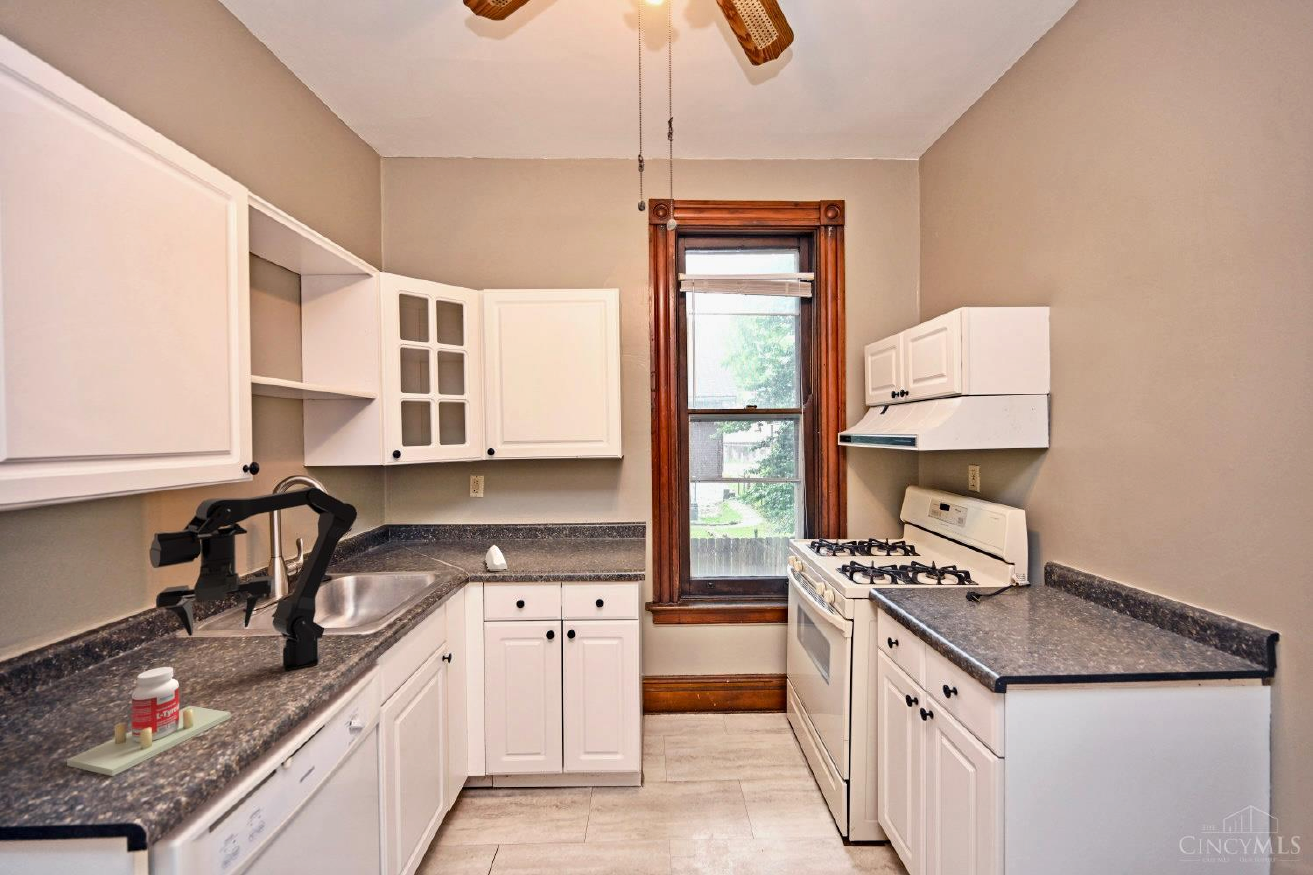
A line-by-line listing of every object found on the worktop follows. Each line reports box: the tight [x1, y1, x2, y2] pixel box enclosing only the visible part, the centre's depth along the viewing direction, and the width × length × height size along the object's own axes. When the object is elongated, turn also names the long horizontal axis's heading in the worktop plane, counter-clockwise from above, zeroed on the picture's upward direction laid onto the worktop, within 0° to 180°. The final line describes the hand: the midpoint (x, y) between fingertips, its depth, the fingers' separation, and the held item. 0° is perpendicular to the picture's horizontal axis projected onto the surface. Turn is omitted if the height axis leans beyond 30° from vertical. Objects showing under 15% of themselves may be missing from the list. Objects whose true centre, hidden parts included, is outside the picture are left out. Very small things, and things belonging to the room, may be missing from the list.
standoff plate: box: [66, 705, 232, 777], centre depth 94 cm, size 18×11×4 cm, turn 164°
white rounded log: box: [485, 544, 508, 570], centre depth 220 cm, size 7×7×24 cm
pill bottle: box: [131, 666, 180, 742], centre depth 94 cm, size 6×6×11 cm
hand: (219, 630), depth 112 cm, fingers open, 9 cm apart
